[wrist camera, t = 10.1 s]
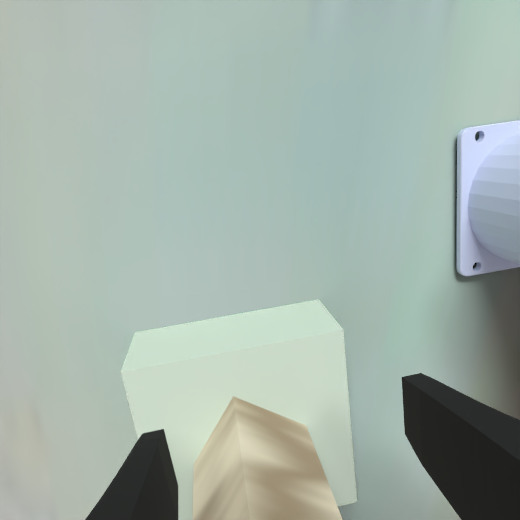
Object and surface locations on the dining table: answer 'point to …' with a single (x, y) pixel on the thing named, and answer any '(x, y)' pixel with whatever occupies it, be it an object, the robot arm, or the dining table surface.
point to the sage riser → (244, 384)
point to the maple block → (260, 470)
